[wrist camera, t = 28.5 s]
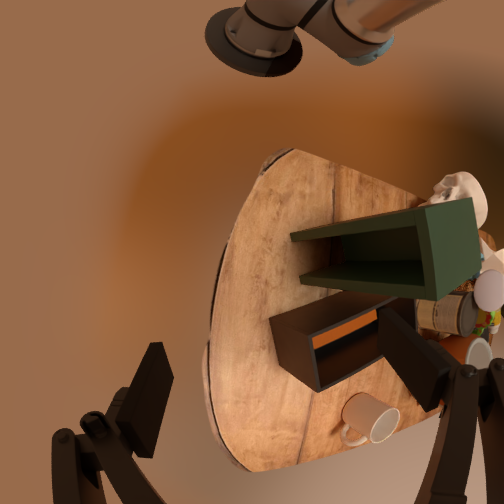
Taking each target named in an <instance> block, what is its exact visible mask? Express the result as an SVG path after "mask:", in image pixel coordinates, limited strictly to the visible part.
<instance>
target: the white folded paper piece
mask: <svg viewBox="0 0 504 504" xmlns="http://www.w3.org/2000/svg"><path fill="white" fill-rule="evenodd" d="M479 243H480V252H481V253H482V254H483V255H484V259H485V260H481V262H482V269H481V270H480V274H481V273H482V272H484V271H485V270H489V269H493V270H497V271H498V272H500V273H501V274H502V275H503V276H504V249H502V250H500V251H497V252H495V251H493V250H491V249H490V248H489V247H488V246H487V244H486V243H485V242H484V241H483V239H482V238H481V237H479Z"/></svg>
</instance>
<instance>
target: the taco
mask: <svg viewBox="0 0 504 504" xmlns="http://www.w3.org/2000/svg"><path fill="white" fill-rule="evenodd" d="M494 316H495V311H492V312H488V311H484V310H482V309H481V308H479V311H478V318H477V322H476V325H475V326H476V328H477V330H473V331H472V334H477V335H478V336H480V335H481V334H482V332H483V330H484V328H487V326H490V325H491V323H492V321H493V318H494Z"/></svg>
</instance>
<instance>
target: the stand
mask: <svg viewBox="0 0 504 504" xmlns="http://www.w3.org/2000/svg"><path fill="white" fill-rule="evenodd" d="M290 236H291V240H292V242H294V241H301V240H309V239H317V238H324V237H332V236H341V241H342V246H343V251H344V256H345V262H341V263H338V264H335V265H332V266H329V267H326V268H323V269H320V270H317V271H313V272H310V273H307V274H304V275H301V276H299V278H300V282H301V284H304V285H311V286H318V287H325V288H333V289H340V290H347V291H355V292H363V293H370V294H378V295H386V296H395V297H403V298H411V299H420V300H427V301H436V302H438V301H439V300H440V299H442V298H443V297H445V296H446V295H448V294H449V293H450V292H452V291H453V290H454V289H456V288H457V287H459V286H460V285H461V284H463V283H464V282H465V281H467V280H468V279H469V278H470V277H472V276H473V275H474V274H476V273H477V272H478V271H479V270H481V269H482V262H481V252H480V243H479V235H478V228H477V221H476V215H475V209H474V204H473V199H472V197H468V198H463V199H457V200H452V201H446V202H441V203H435V204H430V205H424V206H419V207H414V208H408V209H403V210H398V211H393V212H387V213H382V214H377V215H372V216H367V217H361V218H356V219H351V220H346V221H341V222H337V223H332V224H328V225H324V226H319V227H315V228H310V229H306V230H302V231H297V232H293V233H290Z"/></svg>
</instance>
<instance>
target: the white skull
mask: <svg viewBox="0 0 504 504" xmlns="http://www.w3.org/2000/svg"><path fill="white" fill-rule="evenodd" d="M433 190H434V195H433V196H432V197H430V198H429V199H428V201H427V202H425V203H422V204H420V205H418V207H419V206H424V205H430V204H435V203H441V202H446V201H452V200H457V199H463V198H468V197H472V199H473V204H474V209H475V215H476V221H477V228H478V229H479V228H480V227H481V226H482V225H483V223H484V222H485V220H486V216H487V211H488V206H487V201H486V197H485V195H484V192H483V190H482V188H481V186H480V184H479V183H478V181H477V180H476V179H475V177H473V176H472V175H471V174H469V173H467V172H458V173H455V174H452V175H446V176H445V177H444V178H443V179H442V181H441V182H439V183H438V184H436V185H435V186H434V187H433Z"/></svg>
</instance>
